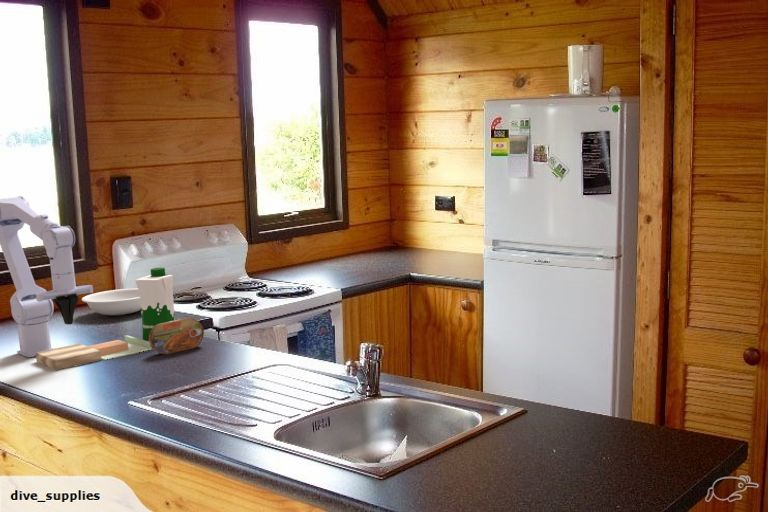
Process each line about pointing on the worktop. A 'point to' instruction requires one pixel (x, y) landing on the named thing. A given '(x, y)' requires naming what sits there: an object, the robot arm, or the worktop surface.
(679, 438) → the worktop surface
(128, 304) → the soup bowl
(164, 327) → the tin
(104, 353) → the tile
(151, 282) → the milk carton
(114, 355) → the mat
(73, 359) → the wooden board
